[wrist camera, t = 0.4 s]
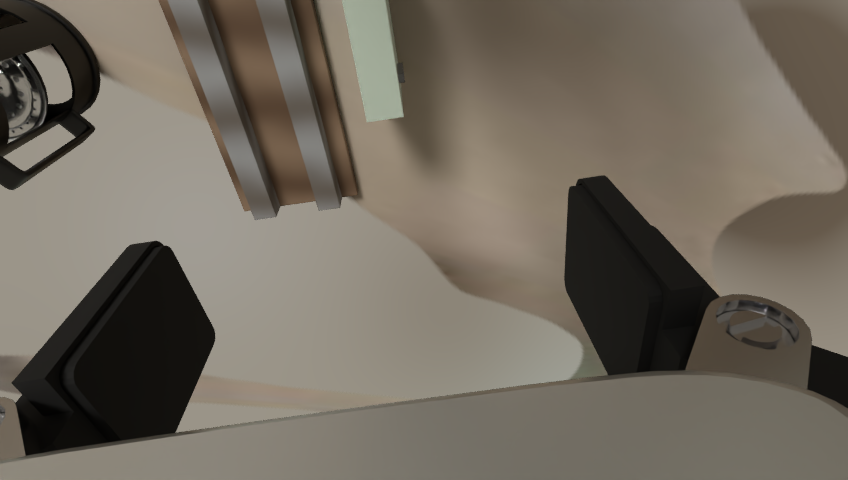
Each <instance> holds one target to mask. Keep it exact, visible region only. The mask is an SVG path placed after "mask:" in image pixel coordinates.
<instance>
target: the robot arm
mask: <svg viewBox="0 0 848 480" xmlns="http://www.w3.org/2000/svg"><path fill="white" fill-rule="evenodd" d="M564 280H565V287H566V291H567V293H568V295H569V297H570V299H571V301H572V303H573V305H574V307H575V309H576V311H577V313H578V315H579V317H580V319H581V321H582V323H583V325H584V327H585V329H586V331H587V333H588V335H589V337H590V339H591V341H592V343H593V345H594V347H595V349H596V351H597V353H598V355H599V357H600V359H601V361H602V363H603V365H604V367H605V369H606V371H607V373H608V375H607V376H597V377H587V378H579V379H571V380H564V381H556V382H549V383H539V384H530V385H523V386H516V387H507V388H500V389H492V390H485V391H477V392H470V393H462V394H454V395H447V396H439V397H431V398H424V399H416V400H409V401H401V402H394V403H386V404H379V405H372V406H364V407H357V408H350V409H342V410H335V411H328V412H320V413H313V414H306V415H300V416H292V417H284V418H278V419H270V420H263V421H255V422H248V423H241V424H235V425H227V426H220V427H213V428H207V429H199V430H192V431H185V432H179V433H175V432H176V430H177V428H178V425H179V423H180V421H181V418H182V416H183V414H184V412H185V409H186V407H187V405H188V402H189V400H190V398H191V396H192V393H193V391H194V389H195V386H196V384H197V382H198V379H199V377H200V375H201V373H202V370H203V368H204V365H205V363H206V361H207V359H208V356H209V354H210V352H211V350H212V347H213V345H214V342H215V331H214V328H213V326H212V324H211V322H210V320H209V319H208V317H207V315H206V313H205V311H204V309H203V307H202V305H201V303H200V302H199V300H198V298H197V296H196V294H195V292H194V290H193V288H192V287H191V285H190V283H189V281H188V279H187V277H186V275H185V273H184V272H183V270H182V268H181V266H180V264H179V262H178V260H177V259H176V257H175V255H174V253H173V251H172V250H171V248H170V247H168V246H164V245H163V244H162V243H160V242H158V241H152V242H145V243H139V244H132V245H130V246H128V247H127V248H126V249H125V251H124V252H123V253H122V254H121V255H120V256H119V258H118V259H117V260H116V261H115V262H114V263H113V265H112V266H111V267H110V268H109V269H108V271H107V272H106V273H105V274H104V275H103V276H102V278H101V279H100V280H99V281H98V282H97V283H96V285H95V286H94V287H93V288H92V289H91V290H90V292H89V293H88V294H87V295H86V296H85V297H84V299H83V300H82V301H81V302H80V303H79V305H78V306H77V307H76V308H75V309H74V310H73V312H72V313H71V314H70V315H69V316H68V318H67V319H66V320H65V321H64V322H63V323H62V325H61V326H60V327H59V328H58V329H57V330H56V331H55V333H54V334H53V335H52V336H51V338H49V340H48V341H47V342H46V343H45V344H44V346H43V347H42V348H41V349H40V350H39V351H38V353H37V354H36V355H35V356H34V357H33V358H32V360H31V361H30V362H29V363H28V364H27V365H26V367H25V368H24V369H23V370H22V371H21V373H20V374H19V375H18V376H17V377H16V378H15V380H14V381H13V382H12V384H13V385H14V386H15V387H16V388H17V389H18V390H19V391H20V392H21V393H22V396H21V397H20V398H19V399H18V401H17V402H16V403H15V402H14V401H13V400H12V399H9V398H6V397H0V480H848V357H846V356H843V355H840V354H837V353H834V352H831V351H828V350H825V349H822V348H819V347H816V346H813V345H812V337H811V331H810V328H809V327H808V326H807V324H806V323H805V322H804V320H803V319H802V318H801V317H799V316H798V315H797V314H796V313H795V312H793V311H792V310H791V309H789V308H787V307H785V306H783V305H781V304H779V303H777V302H774V301H772V300H769V299H766V298H763V297H757V296H752V295H745V294H741V295H740V294H738V295H737V294H732V295H727V296H722V297H719V295H718V294H717V293H716V292H715V291H714V290H713V289H712V288H711V287H710V286H709V285H708V284H707V282H706V281H705V280H704V279H703V278H702V277H701V276H700V275H699V274H698V273H697V272H696V271H695V269H694V268H693V267H692V266H691V265H690V264H689V263H688V262H687V261H686V260H685V259H684V257H683V256H682V255H681V254H680V253H679V252H678V251H677V250H676V249H675V248H674V247H673V246H672V244H671V243H670V242H669V241H668V240H667V239H666V238H665V237H664V236H663V235H662V234H661V232H660V231H659V230H658V229H656V228H655V227H654V226H651V225H650V224H649V223H648V222H647V221H646V220H645V219H644V217H643V216H642V215H641V214H640V213H639V212H638V211H637V210H636V209H635V208H634V206H633V205H632V204H631V203H630V202H629V201H628V200H627V199H626V198H625V197H624V195H623V194H622V193H621V192H620V191H619V190H618V189H617V188H616V187H615V186H614V184H613V183H612V182H611V181H610V180H609V179H608V178H607V177H606V176H605V175H604V176H596V177H589V178H583V179H579V180H578V181H577V184H576V186H571V187H570V188H569V193H568V214H567V234H566V255H565V276H564Z"/></svg>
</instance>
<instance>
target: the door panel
mask: <svg viewBox="0 0 848 480" xmlns="http://www.w3.org/2000/svg"><path fill="white" fill-rule="evenodd" d="M342 3H343V8H344V13H345V18H346V23H347V27H348V32H349V37H350V42H351V47H352V52H353V57H354V62H355V66H356V71H357V76H358V81H359V86H360V91H361V96H362V101H363V106H364V110H365V115H366V120H367V122H372V121H379V120H386V119H393V118H399V117H404V115H403V104H402V92H401V83H403V82H405V80H404V71H403V64H402V63H398V59H397V53H396V46H395V40H394V33H393V27H392V20H391V13H390V7H389V0H342Z"/></svg>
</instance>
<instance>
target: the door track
mask: <svg viewBox="0 0 848 480" xmlns="http://www.w3.org/2000/svg"><path fill="white" fill-rule="evenodd" d="M159 3H160V5H161V7H162V10H163V12H164V15H165V17H166V20H167V22H168V25H169V27H170V30H171V32H172V34H173V37H174V39H175V42H176V44H177V47H178V49H179V52H180V54H181V56H182V59H183V61H184V64H185V66H186V69H187V71H188V74H189V76H190V79H191V81H192V83H193V86H194V88H195V91H196V93H197V96H198V98H199V101H200V103H201V106H202V108H203V110H204V113H205V115H206V118H207V120H208V123H209V125H210V128H211V130H212V133H213V135H214V137H215V140H216V142H217V145H218V147H219V149H220V152H221V155H222V157H223V159H224V162H225V164H226V167H227V169H228V172H229V174H230V177H231V179H232V182H233V184H234V186H235V189H236V191H237V194H238V196H239V199H240V201H241V204H242V206H243V209H244V211H249V210H251V211H252V214H253V216H254V219H255V220H258V219H265V218H272V217H276V216H277V213H278V211H279V208H280V206H284V205H290V204H298V203H305V202H312V201H316V203H317V207H318V210H319V211H320V210H327V209H334V208H340V205H341V200H342V197H347V196H354V195H357V194H358V188H357V184H356V180H355V175H354V171H353V167H352V163H351V159H350V154H349V150H348V146H347V142H346V137H345V133H344V129H343V125H342V121H341V116H340V112H339V108H338V104H337V99H336V95H335V91H334V87H333V83H332V78H331V74H330V70H329V66H328V61H327V57H326V53H325V49H324V45H323V40H322V36H321V32H320V28H319V23H318V19H317V15H316V11H315V6H314V2H313V0H159Z"/></svg>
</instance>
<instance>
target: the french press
mask: <svg viewBox="0 0 848 480" xmlns="http://www.w3.org/2000/svg"><path fill="white" fill-rule="evenodd" d="M4 14H10V15H13V16H15V17H16V18H18V19H20V20H22V21H23V22H25V23H22V24H18V25H14V26H10V27H6V28H3V29H0V184H1V185H2V186H4V187H5V188H7V189H9V190H14V189H16V188H18V187H20V186H21V185H22V184H24V183H25V182H27V181H28V180H30V179H31V178H32V177H34V176H35V175H37V174H38V173H39V172H41V171H42V170H44V169H45V168H47V167H48V166H50V165H51V164H52V163H54V162H55V161H57V160H58V159H60V158H61V157H62V156H64V155H65V154H66V153H68V152H70V151H71V150H72V149H74V148H75V147H77V146H78V145H80V144H81V143H82V142H83V141H85V140H86V139H87V138H88V137H89V136H90V135H91V134H92V133H93V132H94V130H95V128H94V126H93V125H92V124H91V123H90V122H88V121H87V120H86V119H85V118H83V117H82V116H81V115H80V114H82V113H83V112H85V111H86V110H87V109H88V108H90V107H91V106H92V104H93V103H94V102H95V100H96V98H97V95H98V93H99V88H100V73H99V68H98V65H97V61H96V58H95V56H94V54H93V52H92V50H91V48H90V46H89V45H88V43H87V42H86V41H85V39H84V38H83V36H82V35H81V34H80V32H79V31H78V30H77V29H76V28H75V27H74V26H73V25H72V24H71V23H70V22H69V21H68V20H66V19H65V18H64V17H63V16H61V15H60V14H59V13H57V12H56V11H54V10H53V9H51V8H49V7H48V6H46V5H44V4H42V3H40V2H37V1H35V0H0V15H4ZM50 44H51V45H52V46H53V48H54V49H55V50H56V52H57V53H58V54H59V55H60V57H61V59H62V61H63V62H64V64H65V66H66V68H67V70H68V73H69V76H70V79H71V84H72V90H73V91H72V98H71V99H69V100H68V101H66V102H64V103H60V104H48V97H47V92H46V88H45V85H44V82H43V80H42V77H41V76H40V74H39V72H38V70H37V68H36V67H35V65H34V64H33V63H32V61H31V60H30V58H29V57H28V56H27V55H26V54H25V53H27V52H30V51H33V50H36V49H39V48H42V47H45V46H48V45H50ZM57 124H60V125H61V126H63V127H64V128H65V129H66V130H68V131H69V132H70V133H72V134H73V135H74V136H75V137H76V138H74V139H73V140H71V141H70V142H68V143H67V144H65V145H64V146H62V147H61V148H60V149H58V150H56V151H55V152H53V153H52V154H50V155H49V156H47V157H46V158H44V159H43V160H41V161H40V162H38V163H37V164H35V165H34V166H32V167H31V168H29V169H28V170H26V171H22V170H20V169H19V168H17V167H16V166H15V165H13V164H12V163H10V162H9V161H8V160H6V159H5V158H3V156H5V155H7V154H8V153H10V152H12V151H13V150H15V149H17V148H18V147H20V146H22V145H24V144H25V143H27V142H28V141H30V140H32V139H34V138H35V137H37V136H39V135H40V134H42V133H44V132H46V131H47V130H49V129H50V128H52V127H54V126H56V125H57ZM8 141H12V142H10V143H8ZM7 143H8V144H7Z"/></svg>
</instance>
